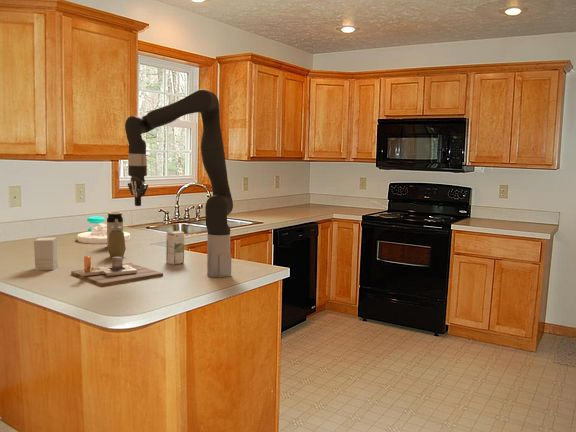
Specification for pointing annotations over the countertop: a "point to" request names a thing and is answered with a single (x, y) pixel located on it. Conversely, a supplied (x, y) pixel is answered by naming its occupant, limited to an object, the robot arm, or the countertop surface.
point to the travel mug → (111, 220)
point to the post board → (117, 279)
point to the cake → (98, 235)
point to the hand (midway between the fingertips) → (137, 205)
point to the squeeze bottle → (116, 241)
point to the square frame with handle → (105, 269)
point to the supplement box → (45, 253)
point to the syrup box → (175, 247)
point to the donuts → (95, 221)
